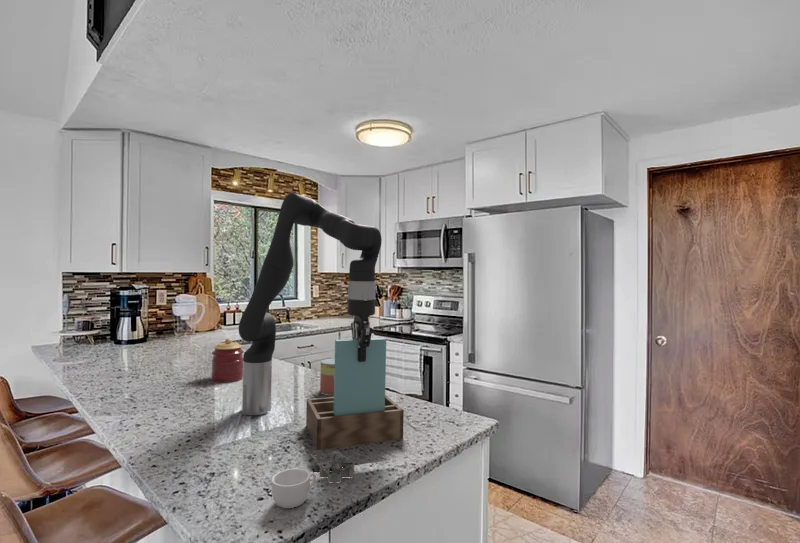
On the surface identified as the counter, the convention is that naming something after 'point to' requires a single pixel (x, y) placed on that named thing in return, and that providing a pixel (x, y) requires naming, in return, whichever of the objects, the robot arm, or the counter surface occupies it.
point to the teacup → (291, 487)
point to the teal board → (359, 377)
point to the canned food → (327, 376)
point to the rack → (352, 424)
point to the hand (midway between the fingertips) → (360, 360)
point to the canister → (227, 362)
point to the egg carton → (335, 466)
